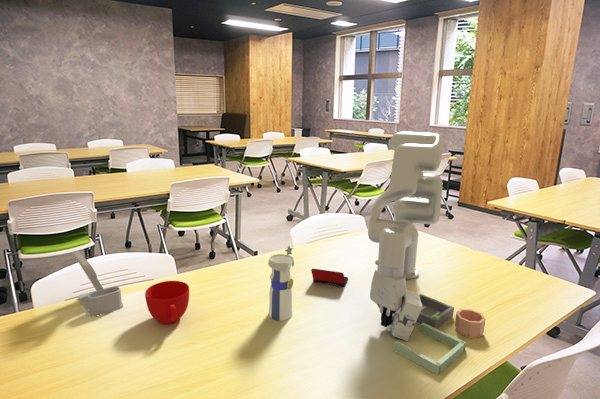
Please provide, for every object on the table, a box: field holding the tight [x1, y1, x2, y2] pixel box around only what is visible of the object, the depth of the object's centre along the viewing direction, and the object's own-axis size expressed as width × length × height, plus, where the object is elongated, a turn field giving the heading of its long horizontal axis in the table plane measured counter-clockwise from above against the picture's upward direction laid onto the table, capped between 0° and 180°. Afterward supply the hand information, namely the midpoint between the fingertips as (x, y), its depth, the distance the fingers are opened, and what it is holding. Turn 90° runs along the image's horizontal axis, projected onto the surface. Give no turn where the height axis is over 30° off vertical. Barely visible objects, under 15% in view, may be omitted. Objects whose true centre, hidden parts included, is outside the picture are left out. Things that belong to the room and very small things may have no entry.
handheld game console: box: [310, 268, 349, 288], centre depth 148 cm, size 12×11×7 cm
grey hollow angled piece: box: [72, 250, 124, 317], centre depth 128 cm, size 17×10×18 cm, turn 42°
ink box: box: [391, 289, 423, 342], centre depth 115 cm, size 9×5×12 cm, turn 172°
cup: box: [454, 308, 486, 339], centre depth 117 cm, size 8×8×5 cm
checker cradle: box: [415, 293, 455, 329], centre depth 125 cm, size 12×12×4 cm
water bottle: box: [267, 245, 295, 321], centre depth 122 cm, size 8×9×25 cm
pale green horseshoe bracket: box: [392, 323, 467, 376], centre depth 108 cm, size 13×15×2 cm
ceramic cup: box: [144, 280, 190, 325], centre depth 119 cm, size 13×17×10 cm
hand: (386, 324), depth 118 cm, fingers closed
